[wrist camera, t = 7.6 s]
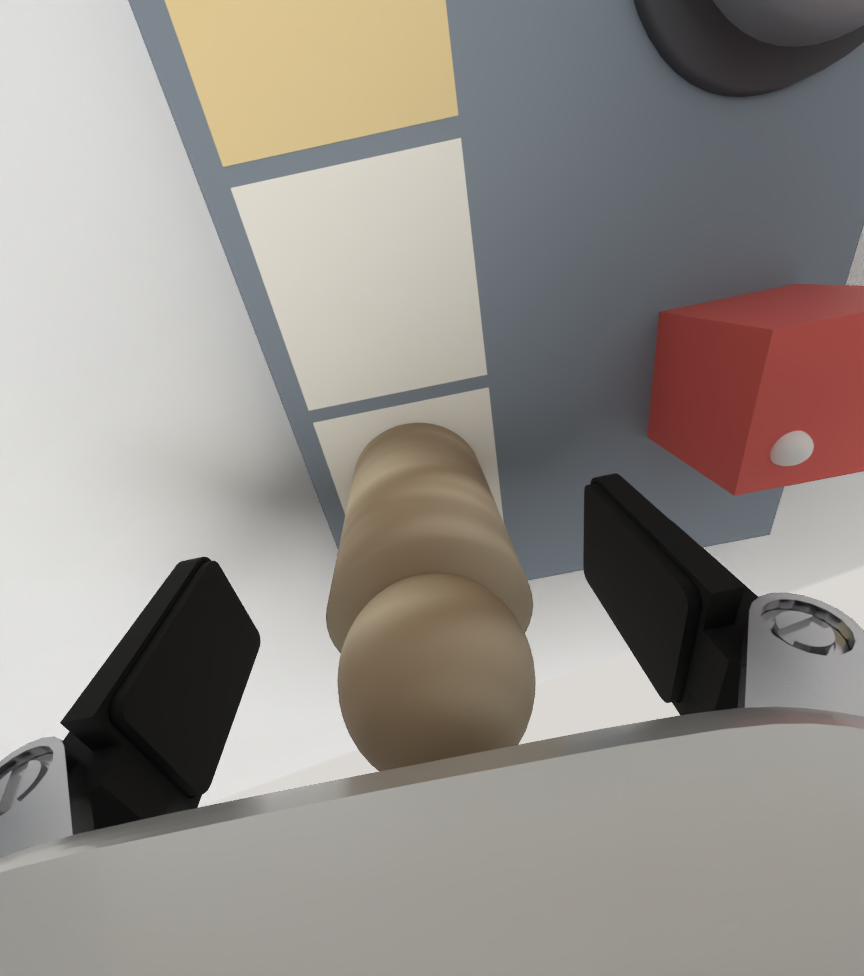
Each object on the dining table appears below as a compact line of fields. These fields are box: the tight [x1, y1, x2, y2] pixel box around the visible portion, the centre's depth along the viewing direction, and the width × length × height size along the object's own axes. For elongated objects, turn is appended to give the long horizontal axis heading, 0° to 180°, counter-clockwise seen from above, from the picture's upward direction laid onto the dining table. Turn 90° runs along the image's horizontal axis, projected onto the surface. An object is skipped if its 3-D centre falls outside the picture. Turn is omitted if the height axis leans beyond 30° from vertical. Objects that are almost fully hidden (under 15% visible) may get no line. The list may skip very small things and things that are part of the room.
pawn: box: [326, 423, 535, 771], centre depth 10 cm, size 4×4×9 cm
